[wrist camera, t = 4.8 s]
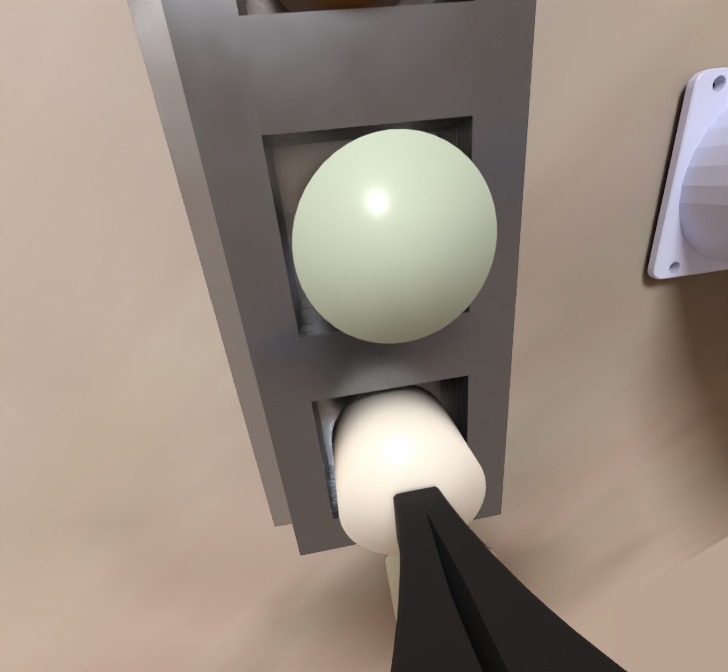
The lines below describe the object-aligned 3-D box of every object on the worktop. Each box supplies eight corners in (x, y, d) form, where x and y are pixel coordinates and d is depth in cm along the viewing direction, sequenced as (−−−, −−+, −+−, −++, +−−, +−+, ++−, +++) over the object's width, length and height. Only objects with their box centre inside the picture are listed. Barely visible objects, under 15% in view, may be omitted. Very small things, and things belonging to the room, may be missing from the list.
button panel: (534, -374, 9) (684, -743, 6) (491, 468, 20) (532, 530, 17) (31, -394, 8) (-199, -879, 4) (276, 510, 19) (269, 586, 15)
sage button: (445, 138, 11) (502, 118, 8) (446, 293, 13) (492, 328, 9) (282, 154, 10) (272, 140, 7) (309, 313, 12) (310, 357, 9)
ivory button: (447, 373, 14) (488, 427, 11) (448, 469, 16) (483, 539, 13) (323, 394, 13) (328, 457, 10) (339, 490, 15) (348, 567, 12)
